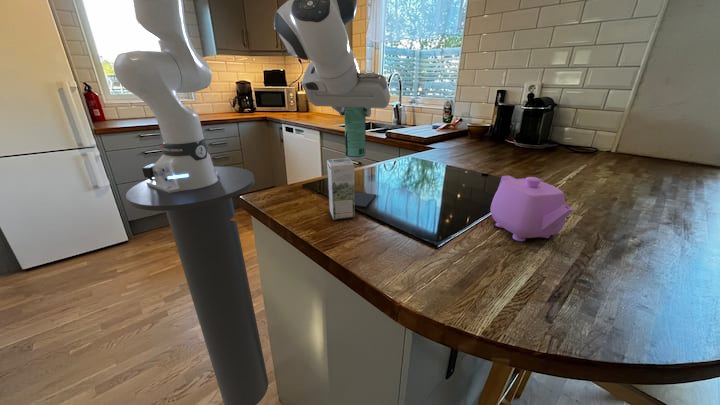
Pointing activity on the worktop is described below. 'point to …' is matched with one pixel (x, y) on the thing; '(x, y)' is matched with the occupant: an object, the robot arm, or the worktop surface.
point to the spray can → (355, 133)
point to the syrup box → (341, 188)
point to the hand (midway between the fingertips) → (355, 114)
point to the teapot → (529, 208)
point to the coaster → (363, 199)
